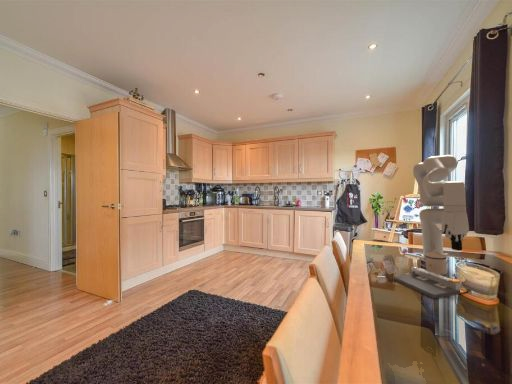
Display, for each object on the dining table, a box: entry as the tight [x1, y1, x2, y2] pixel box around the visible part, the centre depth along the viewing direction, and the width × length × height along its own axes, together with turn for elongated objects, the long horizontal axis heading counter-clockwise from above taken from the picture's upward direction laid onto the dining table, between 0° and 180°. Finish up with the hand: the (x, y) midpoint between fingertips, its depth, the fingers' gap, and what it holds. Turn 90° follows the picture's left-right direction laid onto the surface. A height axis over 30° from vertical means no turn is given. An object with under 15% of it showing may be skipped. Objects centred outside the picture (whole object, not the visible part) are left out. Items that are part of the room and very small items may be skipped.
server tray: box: [393, 272, 460, 299], centre depth 105 cm, size 18×21×2 cm
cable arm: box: [410, 265, 462, 289], centre depth 105 cm, size 22×4×3 cm, turn 12°
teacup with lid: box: [417, 250, 448, 276], centre depth 120 cm, size 12×9×12 cm
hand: (456, 249), depth 101 cm, fingers closed
